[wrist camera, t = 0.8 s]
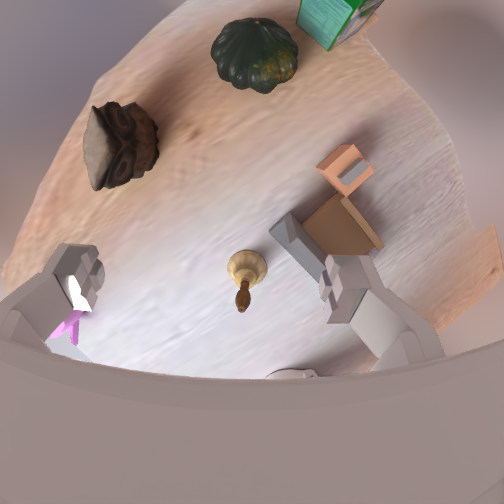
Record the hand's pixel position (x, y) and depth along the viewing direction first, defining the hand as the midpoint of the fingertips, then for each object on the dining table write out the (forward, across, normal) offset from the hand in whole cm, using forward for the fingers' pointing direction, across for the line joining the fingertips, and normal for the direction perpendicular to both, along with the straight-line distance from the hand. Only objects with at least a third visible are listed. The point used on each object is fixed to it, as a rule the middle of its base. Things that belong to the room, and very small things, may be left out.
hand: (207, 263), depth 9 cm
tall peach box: (+41, +20, -12) cm, 48 cm away
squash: (+50, +3, +5) cm, 50 cm away
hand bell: (+36, +4, -35) cm, 50 cm away
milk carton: (+52, +16, +16) cm, 57 cm away
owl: (+47, -21, -11) cm, 52 cm away
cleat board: (+36, +20, -26) cm, 49 cm away
